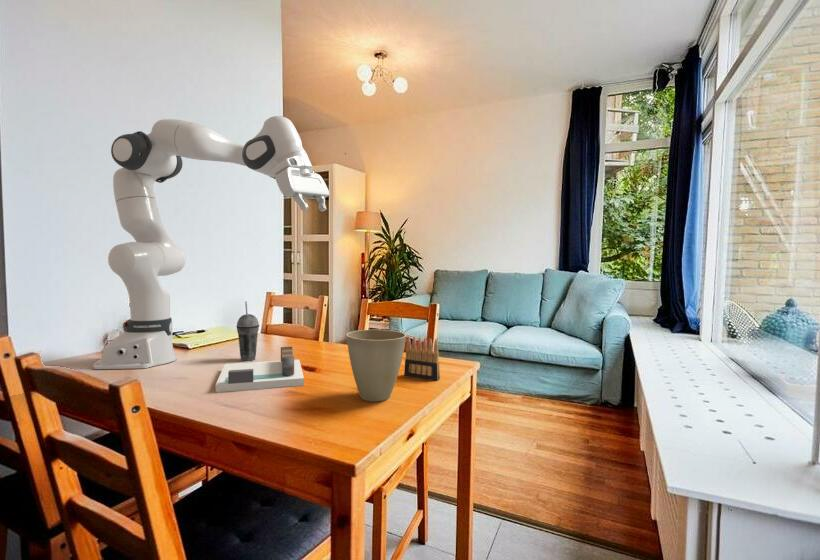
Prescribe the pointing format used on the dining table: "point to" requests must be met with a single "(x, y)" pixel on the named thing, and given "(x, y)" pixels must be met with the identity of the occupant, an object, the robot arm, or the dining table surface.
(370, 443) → the dining table surface
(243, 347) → the beverage cup
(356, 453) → the dining table surface
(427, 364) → the ammunition clip
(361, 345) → the plant pot
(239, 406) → the dining table surface
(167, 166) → the robot arm
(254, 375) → the shallow rectangular tray
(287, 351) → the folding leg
